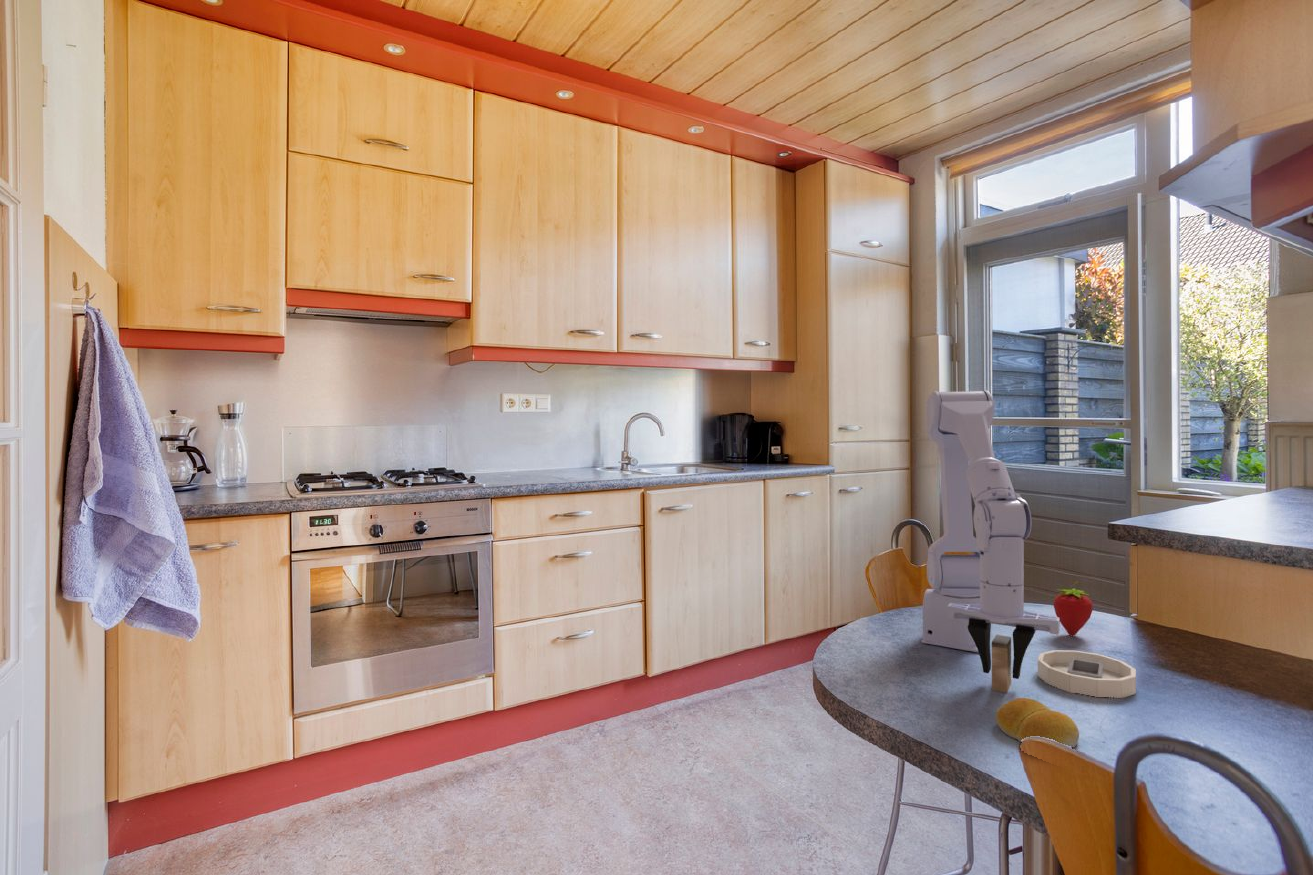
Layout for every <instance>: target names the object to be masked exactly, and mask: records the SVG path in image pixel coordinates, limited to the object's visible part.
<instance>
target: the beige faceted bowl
mask: <svg viewBox="0 0 1313 875" xmlns="http://www.w3.org/2000/svg"><path fill="white" fill-rule="evenodd" d="M1038 676H1039V677H1038ZM1037 677H1038V678H1040V679H1041V680H1042V681H1043V680H1044V681H1043V682H1044V683H1046V684H1047V683H1048V684H1049V685H1048V684H1047V685H1048V686H1051V685H1052V687H1054V686H1055V687H1054V688H1056V687H1057V689H1059V690H1062V691H1065V692H1068V693H1071V694H1075V693H1080V694H1079V695H1081V694H1086V695H1090V696H1089V697H1091V696H1096V697H1109V698H1108V699H1124V698H1127V697H1130V696H1133V695H1136V693H1137V670H1136V668H1135V667H1133V666H1131V665H1130V664H1128V663H1126V662H1124V660H1120V659H1116V658H1113V657H1110V656H1106V655H1103V654H1100V653H1096V652H1095V653H1094V652H1093V653H1092V652H1087V651H1082V650H1081V651H1080V650H1072V649H1071V650H1070V649H1069V650H1066V649H1065V650H1063V649H1052V650H1049V651H1045V652H1040V653H1039V655H1038V658H1037ZM1086 695H1085V696H1086ZM1096 697H1095V698H1096ZM1110 697H1111V698H1110ZM1113 697H1114V698H1113Z"/></svg>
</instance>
